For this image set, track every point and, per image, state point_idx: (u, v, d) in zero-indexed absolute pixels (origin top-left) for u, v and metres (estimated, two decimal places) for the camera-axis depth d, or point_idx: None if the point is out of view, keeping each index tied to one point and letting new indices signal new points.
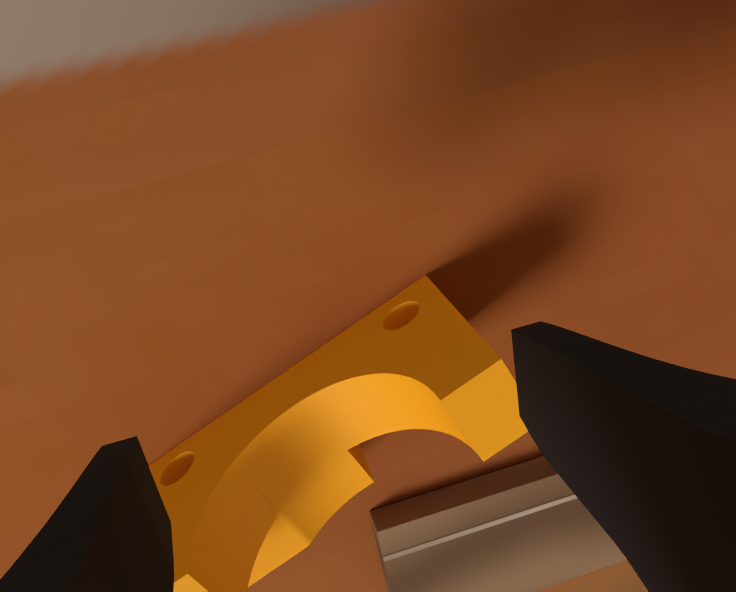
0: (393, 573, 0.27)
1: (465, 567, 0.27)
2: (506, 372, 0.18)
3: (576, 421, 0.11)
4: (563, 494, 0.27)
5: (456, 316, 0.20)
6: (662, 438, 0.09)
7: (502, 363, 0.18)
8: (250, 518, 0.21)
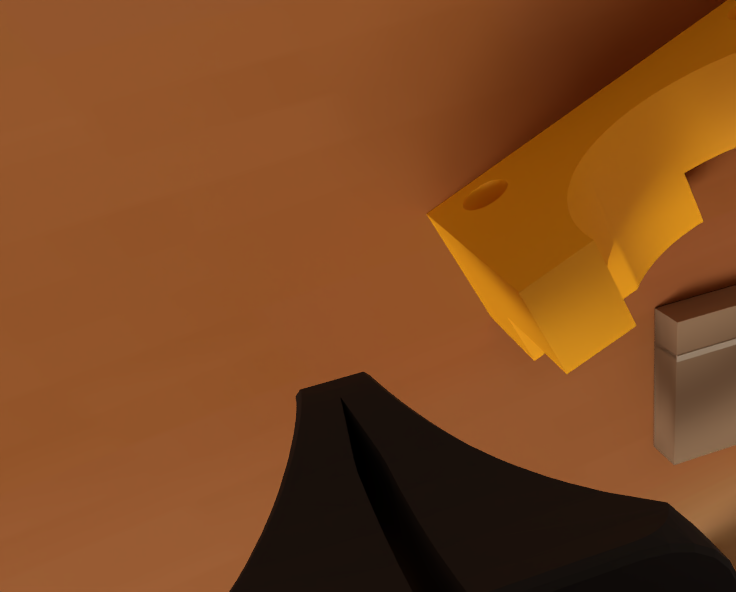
0: (683, 379, 0.23)
1: None
2: None
3: (373, 484, 0.11)
4: None
5: None
6: (407, 520, 0.08)
7: None
8: (595, 233, 0.17)
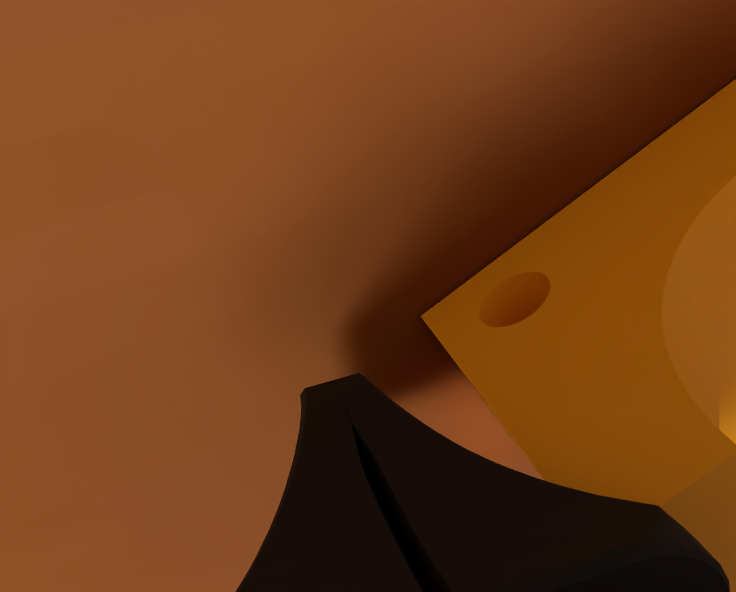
0: None
1: None
2: None
3: None
4: None
5: None
6: (400, 522, 0.08)
7: None
8: (701, 371, 0.11)
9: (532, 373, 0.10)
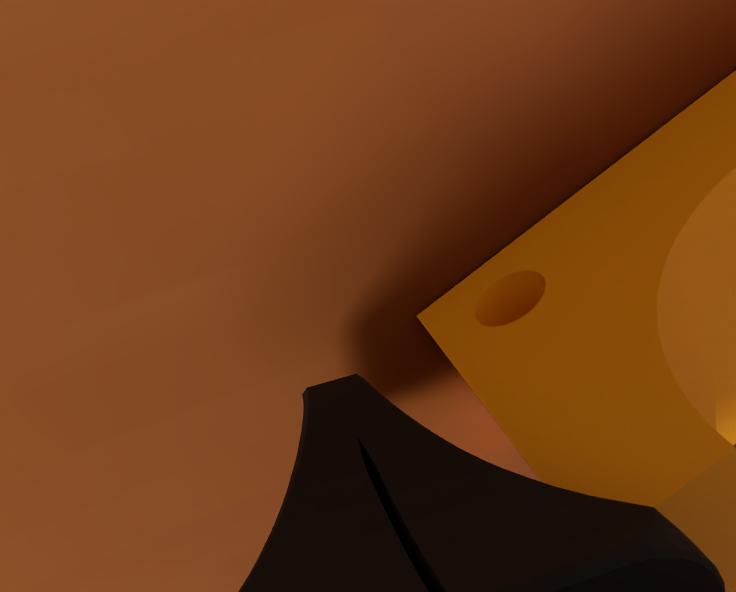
0: None
1: None
2: None
3: None
4: None
5: None
6: (396, 524, 0.08)
7: None
8: (696, 368, 0.11)
9: (528, 373, 0.10)
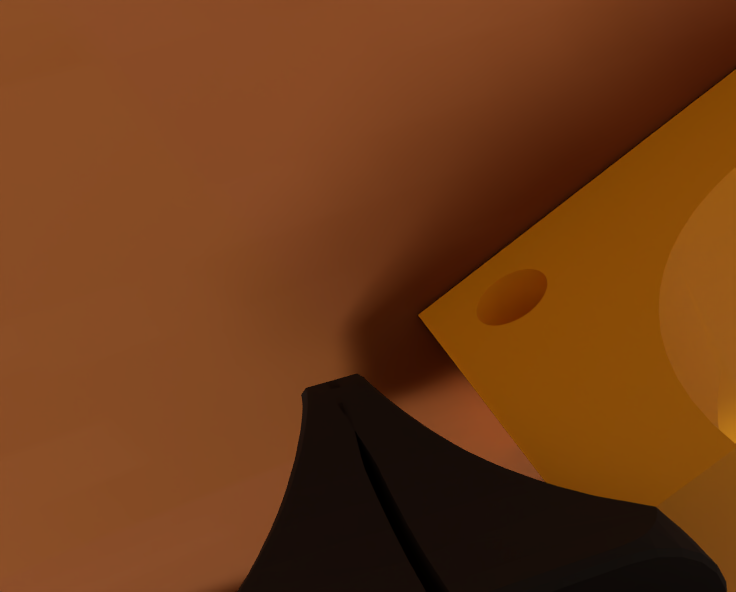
0: None
1: None
2: None
3: None
4: None
5: None
6: (398, 523, 0.08)
7: None
8: (698, 366, 0.11)
9: (530, 372, 0.10)
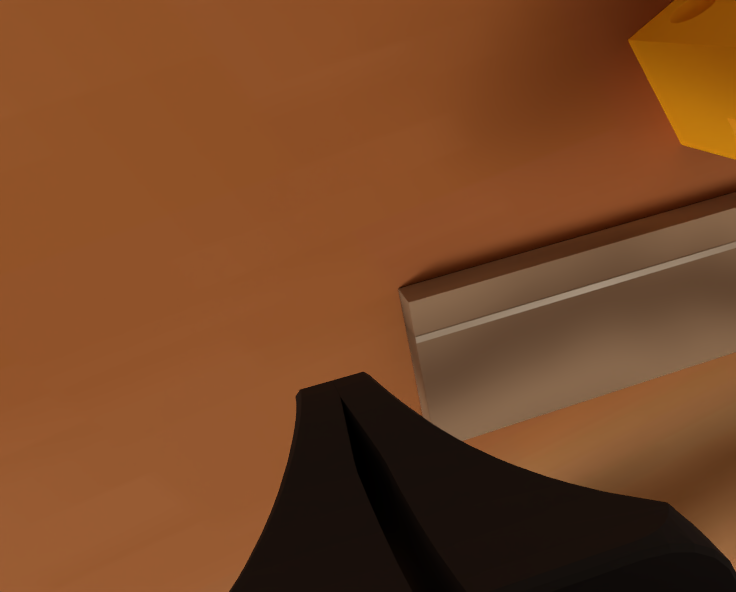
0: (427, 360, 0.23)
1: (510, 360, 0.23)
2: None
3: (373, 484, 0.11)
4: (625, 270, 0.23)
5: None
6: (407, 520, 0.08)
7: None
8: None
9: (720, 24, 0.18)
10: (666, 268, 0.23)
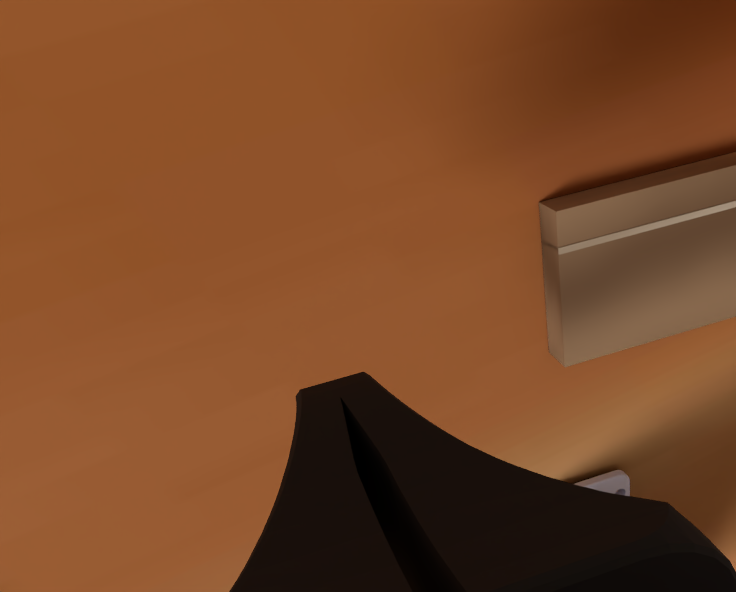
0: (567, 273, 0.23)
1: (643, 277, 0.24)
2: None
3: (373, 484, 0.11)
4: None
5: None
6: (407, 520, 0.08)
7: None
8: None
9: None
10: None
